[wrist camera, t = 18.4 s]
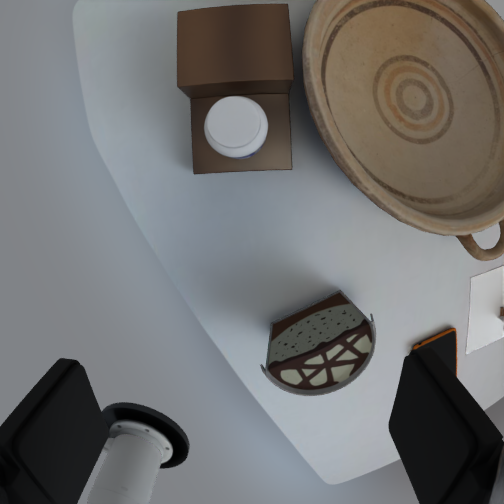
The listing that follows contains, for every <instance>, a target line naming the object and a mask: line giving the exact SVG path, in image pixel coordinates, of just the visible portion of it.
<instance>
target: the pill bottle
mask: <svg viewBox="0 0 504 504" xmlns="http://www.w3.org/2000/svg"><path fill="white" fill-rule="evenodd" d="M204 131H205V136H206V139H207V141H208V143H209V144H210V145H211V147H212V148H213V149H214V150H216V151H217V152H218V153H220V154H222V155H224V156H227V157H230V158H234V159H245V158H249V157H251V156H253V155H255V154H256V153H257V152H258V151H259V150H260V149H261V148H262V146H263V145H264V143H265V140H266V136H267V132H268V121H267V117H266V115H265V113H264V111H263V109H262V108H261V107H260V106H259V105H258V104H257V103H256V102H254V101H253V100H251V99H249V98H246V97H241V96H230V97H226V98H223V99H221V100H219V101H218V102H216V103H215V104H214V105H213V106H212V108H211V109H210V111H209V112H208V114H207V117H206V119H205V124H204Z"/></svg>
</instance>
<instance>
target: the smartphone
mask: <svg viewBox="0 0 504 504" xmlns="http://www.w3.org/2000/svg"><path fill="white" fill-rule="evenodd" d="M425 347H431V348H432V349H433V350H434V351H435V352H436V353H437V355H438V356H439V357H440V358H441V359H442V360H443V362H444V363H445V364H446V365H447V366H448V368H449V369H450V370H451V371H452V372H453V373H454V375H455V376H456V377H457V334H456V329H455V328H450V329H448V330H446V331H444V332H442V333H440V334H438V335H436V336H434V337H432V338H430V339H428V340H426V341H423V342H421V343H419V344H417V345H415V346H414V347H413V350H414V349H420V348H425Z"/></svg>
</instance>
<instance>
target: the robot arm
mask: <svg viewBox="0 0 504 504" xmlns="http://www.w3.org/2000/svg"><path fill="white" fill-rule="evenodd" d="M389 432H390V434H391V437H392V439H393V441H394V444H395V446H396V448H397V451H398V453H399V455H400V458H401V460H402V462H403V465H404V467H405V469H406V472H407V474H408V476H409V479H410V481H411V484H412V486H413V488H414V491H415V494H416V496H417V499H418V501H419V503H420V504H504V442H503V440H502V438H503V436H502V434H501V433H500V432H499V430H498V429H497V428H496V426H495V425H494V424H493V422H492V421H491V420H490V418H489V417H488V416H487V415H486V414H485V412H484V411H483V409H482V408H481V407H480V406H479V404H478V403H477V402H476V401H475V399H474V398H473V397H472V396H471V394H470V393H469V392H468V391H467V389H466V388H465V387H464V386H463V384H462V383H461V382H460V381H459V380H458V378H457V377H456V376H455V375H454V373H453V372H452V371H451V370H450V369H449V368H448V366H447V365H446V364H445V363H444V362H443V360H442V359H441V358H440V357H439V356H438V355H437V353H436V352H435V351H434V350H433V349H432V348H431V347H425V348H420V349H414V350H412V351H411V352H410V354H409V355H408V356H406V357H405V359H404V362H403V367H402V372H401V376H400V381H399V385H398V389H397V393H396V397H395V401H394V405H393V409H392V413H391V416H390V420H389ZM101 451H102V452H106V453H108V454H107V456H106V458H105V460H104V463H103V465H102V467H101V469H100V472H99V474H98V476H97V478H96V480H95V483H94V485H93V487H92V490H91V491H90V494H89V496H88V502H87V503H88V504H149V502H150V498H151V495H152V491H153V488H154V484H155V481H156V478H157V474H158V471H159V468H160V464H161V463H164V462H166V461H168V460H169V459H170V458H171V456H172V453H173V446H172V444H171V442H170V440H169V439H168V438H167V437H166V436H165V435H164V434H163V433H162V432H161V431H159V430H158V429H156V428H154V427H153V426H151V425H148V424H146V423H143V422H140V421H136V420H128V419H125V420H119V421H116V422H115V423H113V424H112V426H111V428H110V430H109V429H108V426H107V424H106V422H105V419H104V417H103V415H102V412H101V410H100V408H99V405H98V403H97V400H96V398H95V395H94V393H93V390H92V387H91V385H90V382H89V379H88V377H87V374H86V371H85V369H84V367H83V366H82V365H80V363H79V362H78V361H77V360H72V359H64V358H60V359H59V360H58V361H57V362H56V363H55V364H54V365H53V366H52V367H51V368H50V369H49V371H48V372H47V373H46V374H45V375H44V376H43V377H42V378H41V379H40V380H39V382H38V383H37V384H36V385H35V386H34V387H33V389H32V390H31V391H30V392H29V393H28V394H27V395H26V397H25V398H24V399H23V400H22V401H21V402H20V404H19V405H18V406H17V407H16V408H15V409H14V411H13V412H12V413H11V414H10V415H9V417H8V418H7V419H6V420H5V422H4V423H3V424H2V425H1V426H0V504H77V503H78V500H79V498H80V496H81V494H82V492H83V489H84V487H85V485H86V483H87V481H88V479H89V477H90V475H91V472H92V470H93V468H94V466H95V464H96V462H97V460H98V458H99V456H100V453H101Z"/></svg>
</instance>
